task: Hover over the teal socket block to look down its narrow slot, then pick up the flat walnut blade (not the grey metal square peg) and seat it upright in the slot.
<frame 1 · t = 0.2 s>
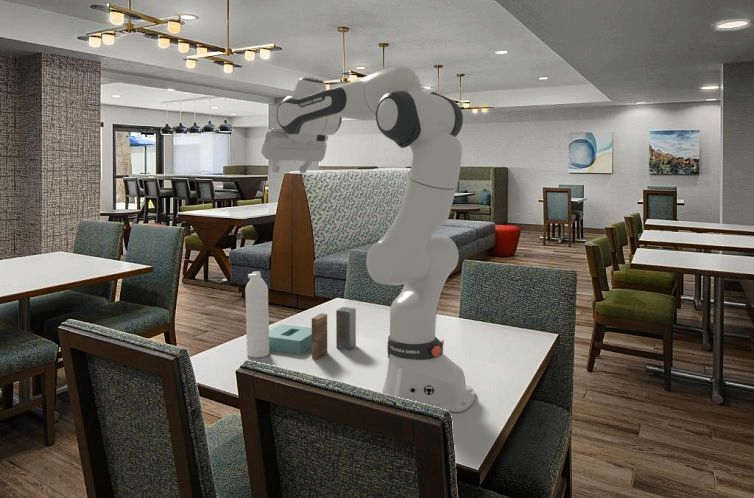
hand: (288, 171, 167), 53 cm above the table, tool tilted 30°, fingers open, 8 cm apart
socket block: (290, 344, 168), on the table
walnut blade: (319, 355, 159), on the table
water bottle: (257, 356, 158), on the table
square metal peg: (346, 347, 166), on the table
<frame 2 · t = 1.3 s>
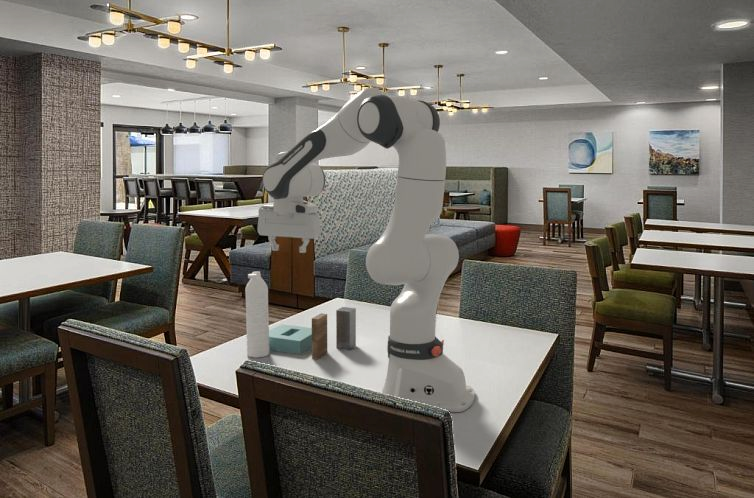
hand: (288, 251, 164), 29 cm above the table, tool pointing down, fingers open, 8 cm apart
nothing on the table moved.
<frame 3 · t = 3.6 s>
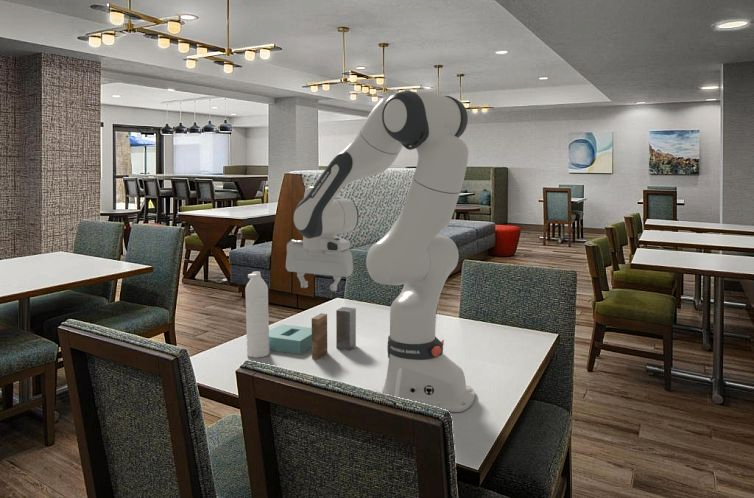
hand: (318, 289, 156), 20 cm above the table, tool pointing down, fingers open, 8 cm apart
nothing on the table moved.
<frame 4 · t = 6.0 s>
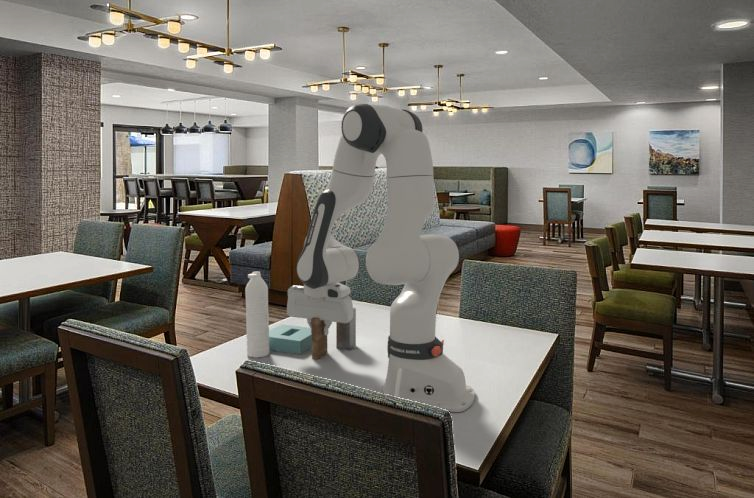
hand: (319, 334, 158), 7 cm above the table, tool pointing down, fingers closed on walnut blade, 2 cm apart
walnut blade: (319, 355, 159), on the table, touching gripper
everything else where it was.
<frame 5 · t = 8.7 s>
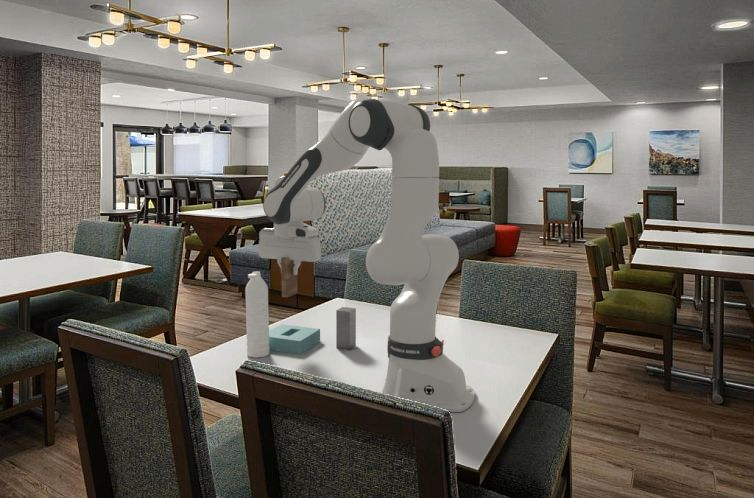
hand: (289, 274, 165), 22 cm above the table, tool pointing down, fingers closed on walnut blade
walnut blade: (289, 294, 166), point 16 cm above the table, touching gripper
everything else where it was.
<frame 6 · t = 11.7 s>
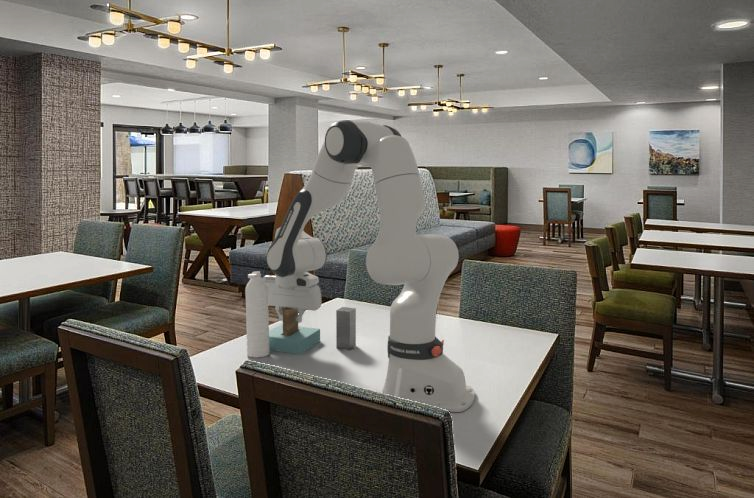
hand: (290, 321, 167), 8 cm above the table, tool pointing down, fingers open, 4 cm apart
walnut blade: (290, 344, 168), resting in socket block
everything else where it was.
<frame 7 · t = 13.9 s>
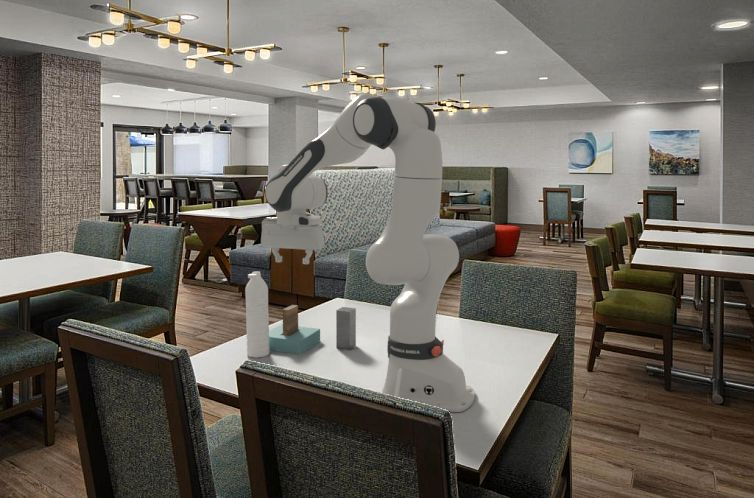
hand: (292, 263, 165), 26 cm above the table, tool pointing down, fingers open, 8 cm apart
nothing on the table moved.
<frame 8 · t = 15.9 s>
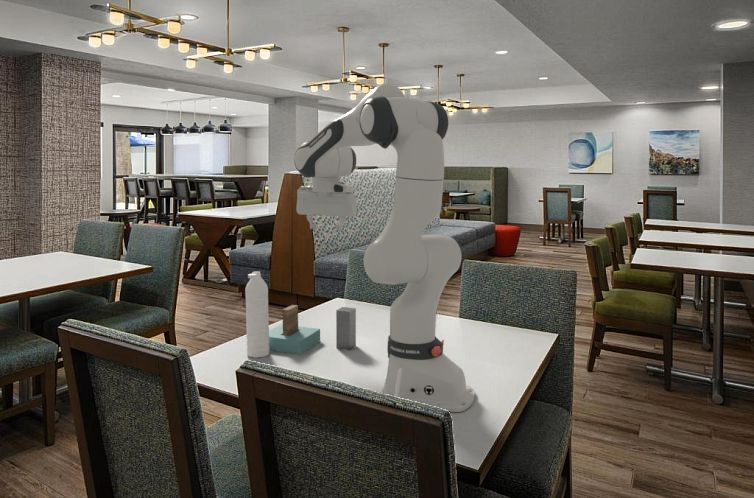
hand: (326, 229, 173), 35 cm above the table, tool pointing down, fingers open, 8 cm apart
nothing on the table moved.
at the end: walnut blade 0.1 cm off-centre on the socket block, point 0.0 cm above the socket block's base; walnut blade tilted 0°; square metal peg moved 0.0 cm from its start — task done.
